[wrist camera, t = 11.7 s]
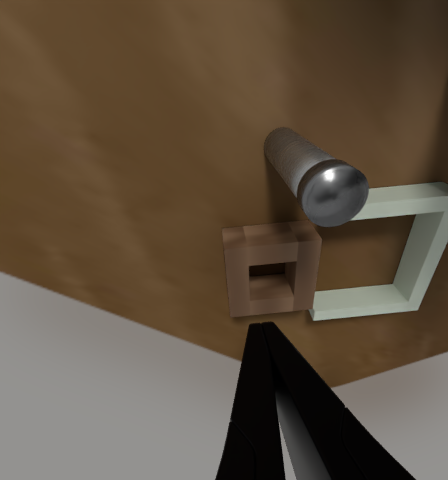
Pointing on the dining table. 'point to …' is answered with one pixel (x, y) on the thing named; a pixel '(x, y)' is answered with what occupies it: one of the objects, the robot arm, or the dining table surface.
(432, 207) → the open c-shaped clip
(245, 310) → the walnut block
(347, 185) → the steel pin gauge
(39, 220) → the dining table surface
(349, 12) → the dining table surface
